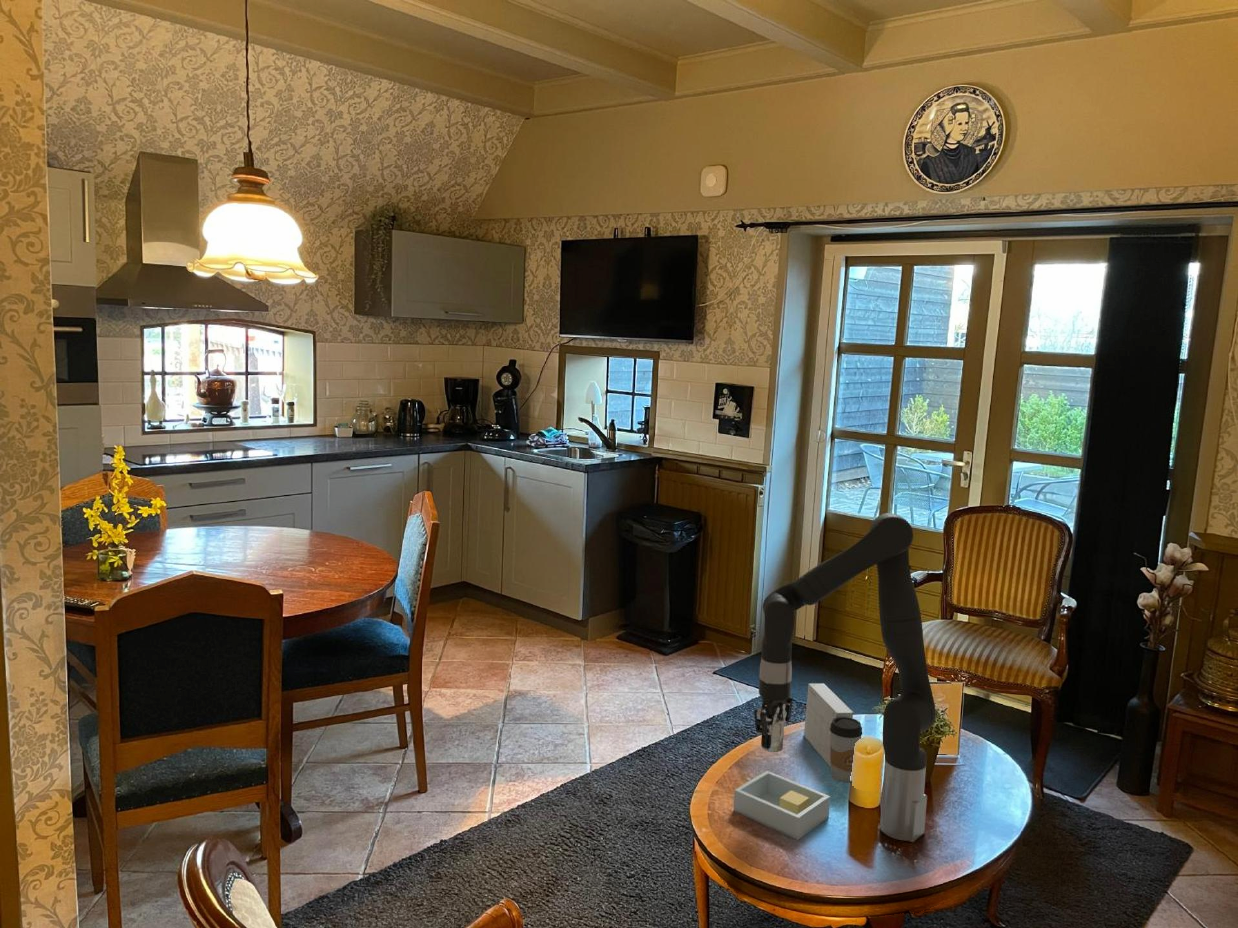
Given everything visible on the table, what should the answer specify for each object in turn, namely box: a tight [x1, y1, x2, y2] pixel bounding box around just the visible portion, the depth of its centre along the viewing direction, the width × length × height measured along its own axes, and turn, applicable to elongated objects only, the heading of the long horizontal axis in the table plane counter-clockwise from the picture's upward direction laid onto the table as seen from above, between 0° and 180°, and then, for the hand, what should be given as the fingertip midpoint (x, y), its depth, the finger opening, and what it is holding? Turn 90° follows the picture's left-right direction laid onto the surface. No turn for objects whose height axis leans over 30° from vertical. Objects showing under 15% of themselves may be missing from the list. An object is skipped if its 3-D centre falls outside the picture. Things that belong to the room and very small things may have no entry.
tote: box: [733, 770, 831, 841], centre depth 224 cm, size 18×14×6 cm
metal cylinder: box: [761, 718, 785, 753], centre depth 223 cm, size 5×5×7 cm
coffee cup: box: [830, 717, 863, 783], centre depth 243 cm, size 8×8×15 cm
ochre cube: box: [779, 791, 809, 814], centre depth 222 cm, size 5×5×5 cm
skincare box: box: [803, 683, 854, 769], centre depth 258 cm, size 21×5×16 cm, turn 9°
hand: (772, 743), depth 224 cm, fingers closed on metal cylinder, 5 cm apart
